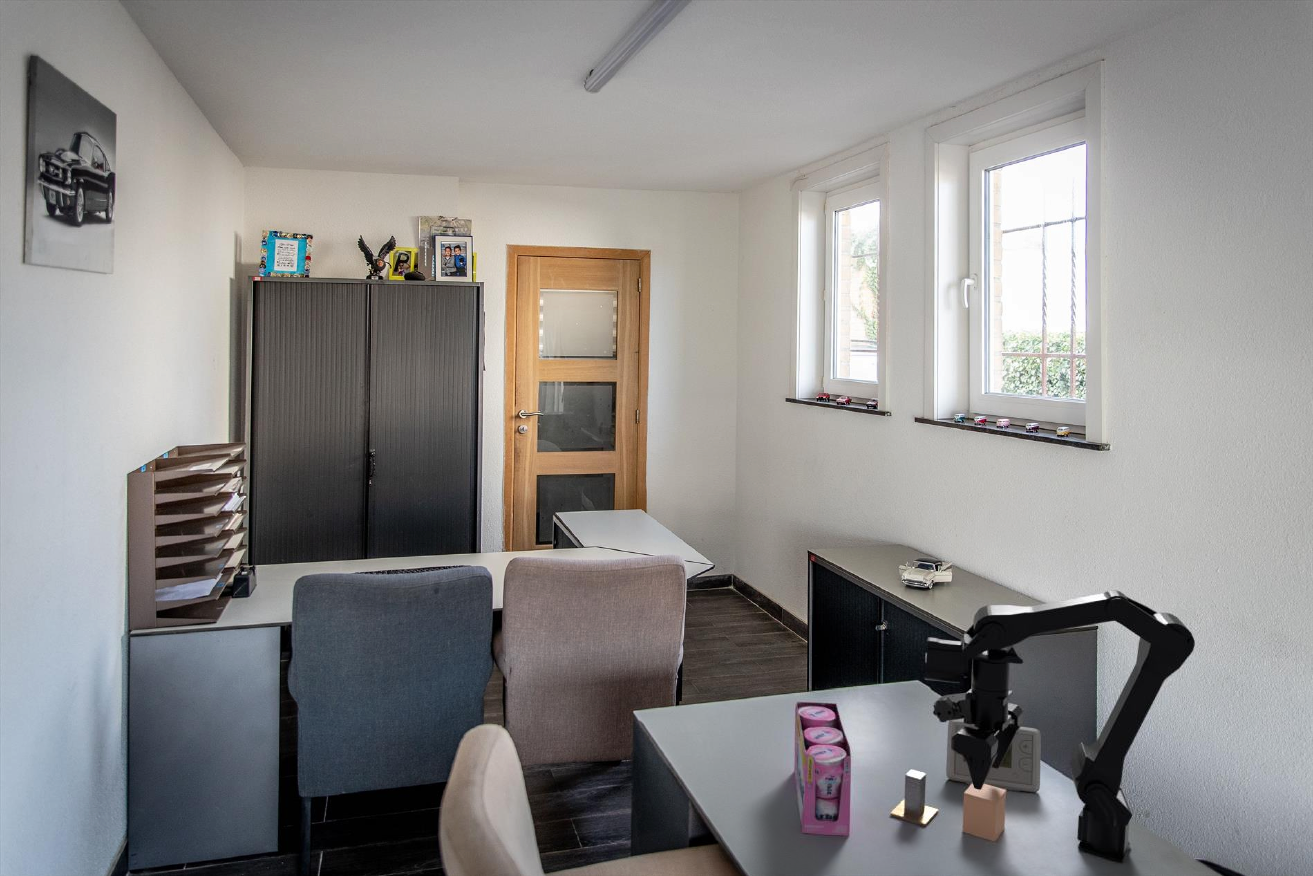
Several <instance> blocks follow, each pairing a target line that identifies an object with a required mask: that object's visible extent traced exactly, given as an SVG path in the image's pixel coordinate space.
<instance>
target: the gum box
mask: <svg viewBox="0 0 1313 876" xmlns="http://www.w3.org/2000/svg"><path fill="white" fill-rule="evenodd" d="M794 709H795V710H794V768H793V769H794V771H793V772H794V780H795V788H796V796H797V797H796V798H797V804H798V811H799V818H800V824H801V832H802V834H812V835H813V834H814V835H815V834H816V835H825V836H827V835H828V836H845V837H849V836H850V831H851V830H850V828H851V827H850V826H851V825H850V824H851V791H852V789H851V785H852V784H851V782H852V779H851V778H852V754H851V745H850V743H849V740H848V738H847V736H846V735H847V734H846V733H845V729H844V727H843V723H842V719H841V715H840V711H839V709H838V703H836V702H835V703H831V702H811V701H796V702H795V708H794Z"/></svg>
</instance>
